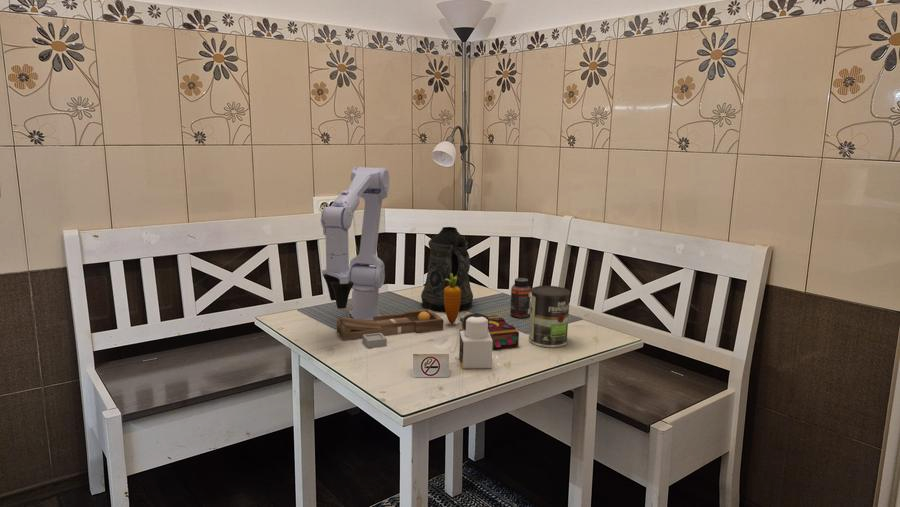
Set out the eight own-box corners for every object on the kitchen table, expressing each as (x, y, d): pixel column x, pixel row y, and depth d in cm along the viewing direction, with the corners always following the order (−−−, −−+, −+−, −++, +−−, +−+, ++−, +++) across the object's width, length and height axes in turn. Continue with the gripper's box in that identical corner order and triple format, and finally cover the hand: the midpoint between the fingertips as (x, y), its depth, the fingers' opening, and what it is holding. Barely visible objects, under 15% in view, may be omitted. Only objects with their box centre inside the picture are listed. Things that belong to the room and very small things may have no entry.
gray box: (362, 341, 160) (362, 334, 159) (381, 339, 162) (381, 332, 161) (367, 348, 155) (367, 341, 155) (386, 345, 157) (386, 338, 157)
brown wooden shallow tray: (335, 329, 169) (335, 315, 168) (429, 318, 180) (429, 305, 179) (344, 342, 159) (344, 327, 158) (443, 329, 170) (443, 316, 169)
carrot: (458, 328, 172) (459, 276, 169) (441, 326, 173) (442, 275, 170) (461, 322, 177) (463, 272, 173) (445, 321, 178) (446, 271, 174)
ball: (416, 324, 175) (416, 312, 176) (428, 324, 176) (428, 312, 177) (419, 322, 172) (419, 310, 172) (431, 323, 173) (431, 310, 173)
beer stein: (441, 295, 205) (442, 221, 199) (490, 305, 194) (493, 228, 188) (410, 306, 192) (410, 228, 186) (460, 318, 181) (463, 235, 175)
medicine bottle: (459, 357, 150) (460, 311, 148) (487, 357, 151) (489, 311, 148) (461, 369, 143) (463, 320, 141) (491, 368, 144) (493, 320, 142)
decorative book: (496, 329, 172) (497, 312, 171) (521, 349, 157) (522, 331, 156) (459, 333, 169) (459, 316, 168) (480, 353, 154) (481, 335, 153)
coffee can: (575, 344, 161) (578, 293, 158) (543, 350, 156) (546, 297, 154) (551, 332, 170) (554, 283, 167) (521, 337, 165) (523, 287, 162)
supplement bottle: (533, 316, 184) (535, 280, 181) (519, 319, 180) (520, 282, 178) (520, 311, 189) (522, 276, 186) (506, 314, 185) (507, 278, 183)
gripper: (315, 248, 161) (317, 297, 164) (327, 260, 148) (329, 313, 151) (342, 246, 164) (343, 295, 166) (356, 258, 151) (356, 310, 153)
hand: (338, 303), depth 159 cm, fingers open, 7 cm apart
